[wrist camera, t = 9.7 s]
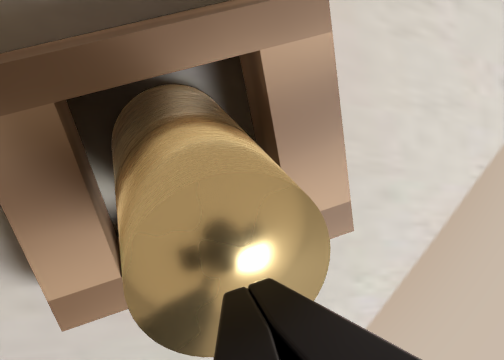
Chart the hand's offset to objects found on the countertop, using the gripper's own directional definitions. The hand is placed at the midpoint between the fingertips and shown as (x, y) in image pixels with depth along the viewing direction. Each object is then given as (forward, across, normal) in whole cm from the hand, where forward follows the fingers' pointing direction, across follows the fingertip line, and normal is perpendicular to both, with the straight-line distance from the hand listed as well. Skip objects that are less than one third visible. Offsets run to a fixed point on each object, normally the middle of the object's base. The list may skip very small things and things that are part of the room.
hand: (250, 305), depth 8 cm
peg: (+9, 0, 0) cm, 9 cm away
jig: (+9, 0, 0) cm, 9 cm away
